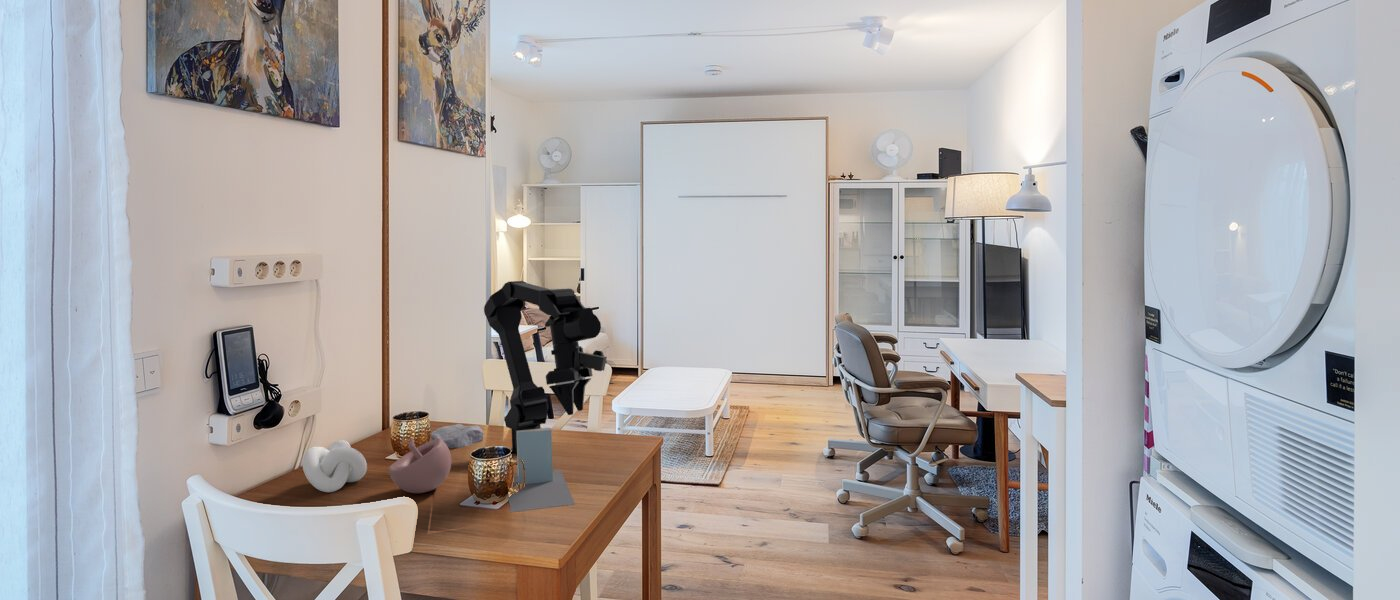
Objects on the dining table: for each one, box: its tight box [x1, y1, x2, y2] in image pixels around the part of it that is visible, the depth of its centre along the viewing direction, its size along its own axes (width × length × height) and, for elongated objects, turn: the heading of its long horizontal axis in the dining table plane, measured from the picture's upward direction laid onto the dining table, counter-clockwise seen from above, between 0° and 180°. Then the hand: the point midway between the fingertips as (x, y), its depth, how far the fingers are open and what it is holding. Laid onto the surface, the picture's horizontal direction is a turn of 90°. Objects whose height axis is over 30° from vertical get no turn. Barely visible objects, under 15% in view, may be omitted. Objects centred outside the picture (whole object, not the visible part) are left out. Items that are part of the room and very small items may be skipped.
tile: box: [516, 427, 553, 485], centre depth 147 cm, size 2×7×11 cm, turn 108°
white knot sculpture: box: [301, 439, 368, 493], centre depth 148 cm, size 11×12×9 cm
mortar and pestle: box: [388, 437, 452, 494], centre depth 143 cm, size 12×12×12 cm
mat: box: [507, 469, 576, 513], centre depth 143 cm, size 22×12×1 cm, turn 18°
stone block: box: [430, 423, 484, 449], centre depth 180 cm, size 12×5×10 cm
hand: (575, 412), depth 156 cm, fingers open, 9 cm apart
